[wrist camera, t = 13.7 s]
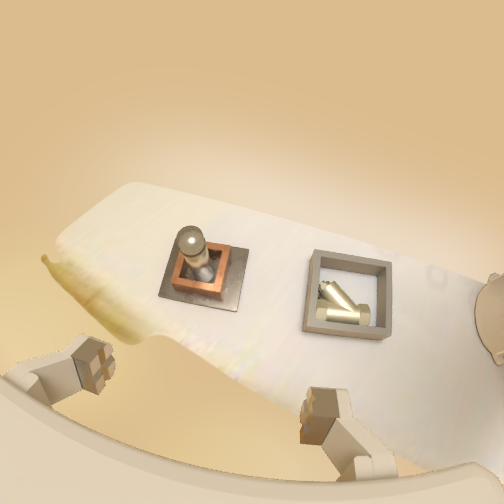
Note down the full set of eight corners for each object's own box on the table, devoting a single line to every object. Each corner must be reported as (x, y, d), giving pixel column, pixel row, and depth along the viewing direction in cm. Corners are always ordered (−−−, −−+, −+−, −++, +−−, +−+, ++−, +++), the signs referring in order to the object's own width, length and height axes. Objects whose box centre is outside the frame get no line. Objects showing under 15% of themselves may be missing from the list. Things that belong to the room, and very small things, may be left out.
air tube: (216, 263, 44) (206, 227, 34) (212, 284, 43) (199, 252, 33) (196, 260, 44) (179, 223, 34) (191, 280, 43) (172, 248, 33)
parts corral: (382, 271, 44) (391, 262, 41) (381, 339, 39) (391, 335, 36) (310, 259, 45) (314, 249, 42) (302, 331, 40) (306, 326, 37)
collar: (248, 250, 46) (248, 239, 43) (236, 312, 41) (235, 305, 38) (176, 239, 47) (171, 228, 43) (159, 296, 42) (152, 288, 39)
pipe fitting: (313, 285, 44) (310, 327, 41) (318, 274, 41) (315, 319, 37) (361, 291, 44) (361, 332, 40) (370, 281, 40) (371, 324, 37)
